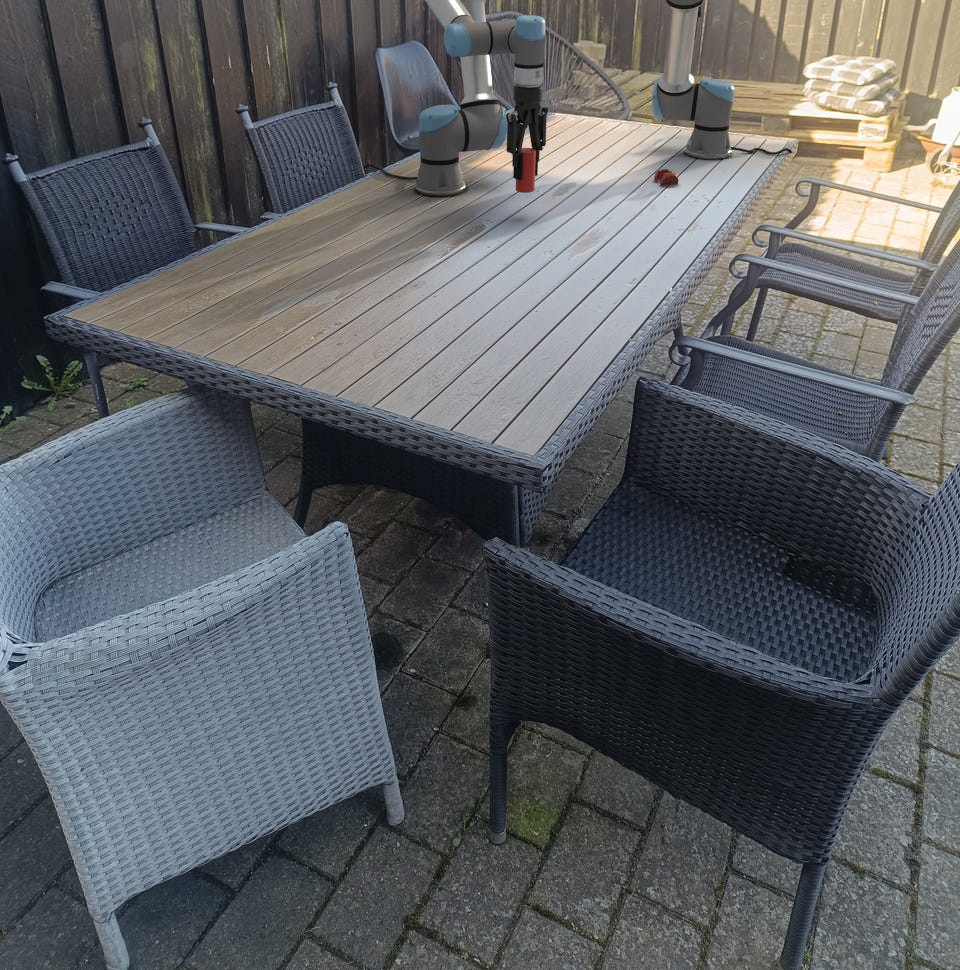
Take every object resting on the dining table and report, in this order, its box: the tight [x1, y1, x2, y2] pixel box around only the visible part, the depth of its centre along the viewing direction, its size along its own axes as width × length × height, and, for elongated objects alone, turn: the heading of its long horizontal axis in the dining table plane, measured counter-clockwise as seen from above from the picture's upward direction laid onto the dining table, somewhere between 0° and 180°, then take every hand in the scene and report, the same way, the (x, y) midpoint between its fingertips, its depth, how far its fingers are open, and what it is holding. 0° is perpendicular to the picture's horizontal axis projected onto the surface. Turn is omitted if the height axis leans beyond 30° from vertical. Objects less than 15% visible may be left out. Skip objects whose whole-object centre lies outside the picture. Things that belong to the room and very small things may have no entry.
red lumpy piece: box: [653, 168, 679, 187], centre depth 263 cm, size 6×4×8 cm
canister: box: [515, 147, 536, 194], centre depth 230 cm, size 5×5×11 cm
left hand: (525, 176), depth 231 cm, fingers closed on canister, 5 cm apart
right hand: (685, 36), depth 300 cm, fingers open, 13 cm apart
